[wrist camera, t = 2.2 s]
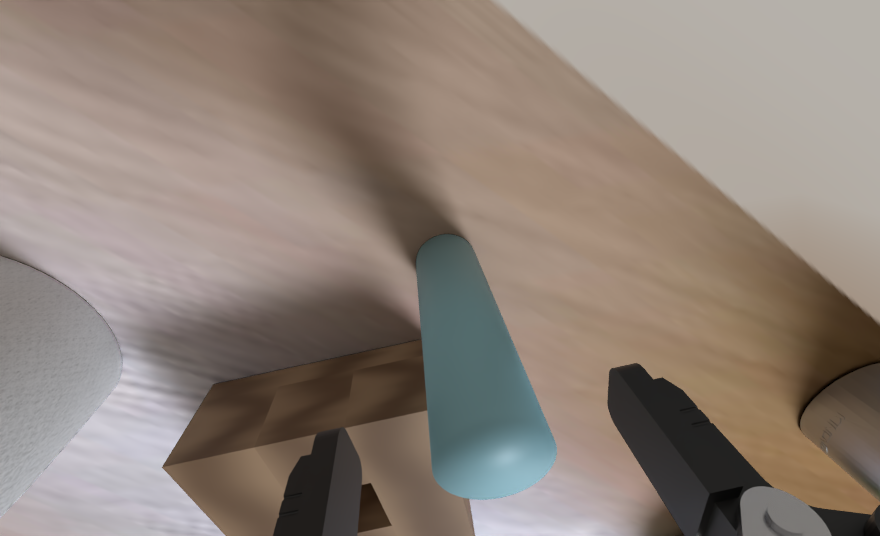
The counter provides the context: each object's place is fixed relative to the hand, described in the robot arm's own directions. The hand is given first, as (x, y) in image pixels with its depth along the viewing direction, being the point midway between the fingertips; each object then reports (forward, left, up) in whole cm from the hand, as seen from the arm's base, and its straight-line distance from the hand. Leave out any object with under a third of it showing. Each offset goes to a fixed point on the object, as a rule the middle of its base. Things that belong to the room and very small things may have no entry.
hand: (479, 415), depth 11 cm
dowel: (0, 0, -11) cm, 11 cm away
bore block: (+9, +12, -11) cm, 18 cm away
